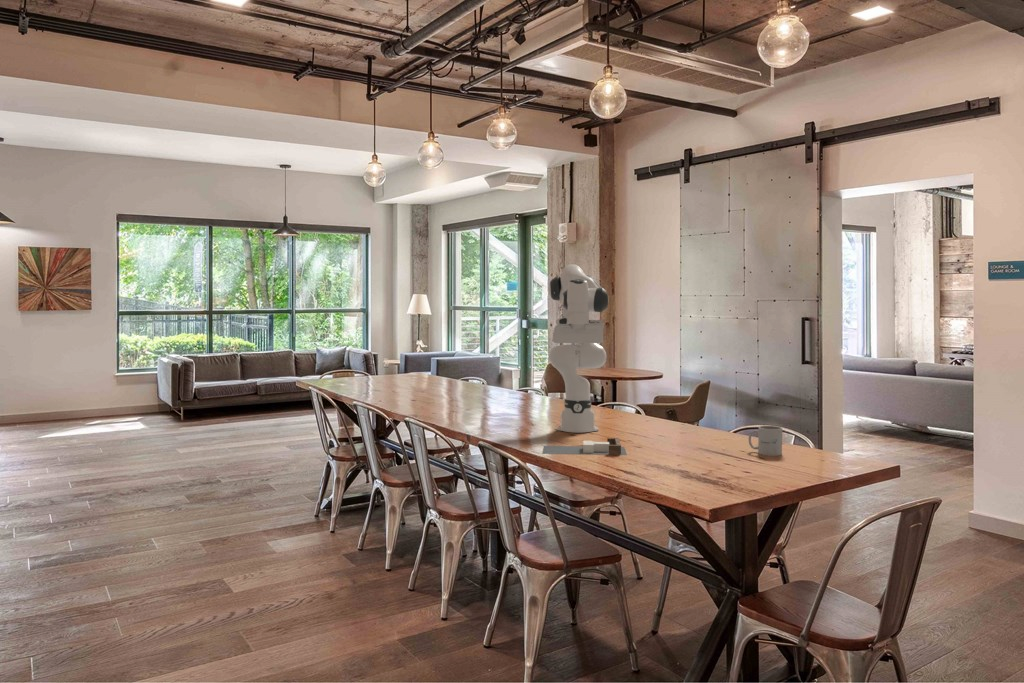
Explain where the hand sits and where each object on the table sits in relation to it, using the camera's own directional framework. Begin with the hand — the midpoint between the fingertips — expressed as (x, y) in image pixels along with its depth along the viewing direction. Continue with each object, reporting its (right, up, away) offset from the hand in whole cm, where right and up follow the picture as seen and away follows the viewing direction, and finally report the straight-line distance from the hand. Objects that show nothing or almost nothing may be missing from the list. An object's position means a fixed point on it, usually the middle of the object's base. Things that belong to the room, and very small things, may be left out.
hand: (577, 354), depth 300 cm
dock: (+13, -37, -9) cm, 40 cm away
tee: (+6, -37, -9) cm, 39 cm away
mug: (+71, -38, -11) cm, 81 cm away
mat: (+2, -38, -8) cm, 38 cm away
